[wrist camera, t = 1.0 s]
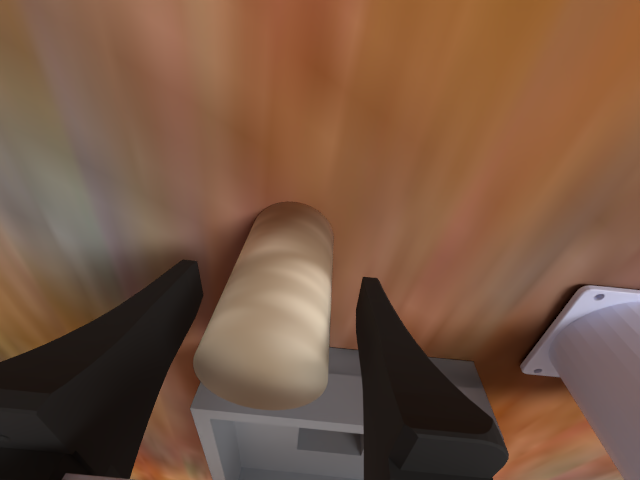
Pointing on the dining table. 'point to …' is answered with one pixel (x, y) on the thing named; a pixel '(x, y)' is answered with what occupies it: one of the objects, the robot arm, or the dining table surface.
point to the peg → (273, 314)
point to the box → (305, 427)
